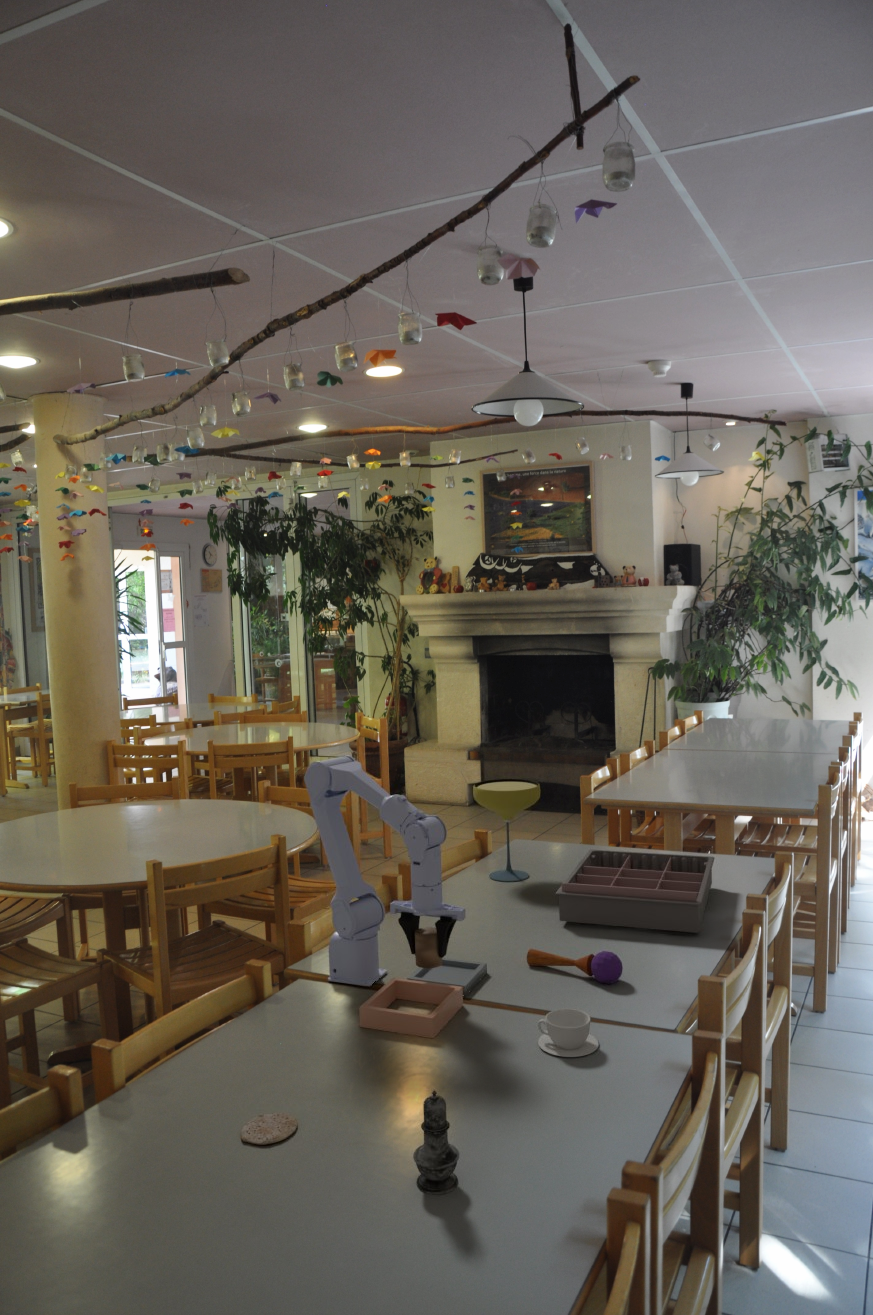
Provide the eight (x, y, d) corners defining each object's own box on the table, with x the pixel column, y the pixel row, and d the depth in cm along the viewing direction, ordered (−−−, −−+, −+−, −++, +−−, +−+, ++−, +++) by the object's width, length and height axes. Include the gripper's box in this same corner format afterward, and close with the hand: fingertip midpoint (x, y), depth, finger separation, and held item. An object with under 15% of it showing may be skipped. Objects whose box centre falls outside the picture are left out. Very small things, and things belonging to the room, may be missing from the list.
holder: (359, 1027, 166) (359, 1007, 166) (393, 996, 179) (393, 977, 178) (433, 1038, 160) (432, 1018, 160) (462, 1005, 173) (462, 987, 173)
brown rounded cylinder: (411, 966, 175) (410, 934, 175) (422, 957, 180) (421, 926, 180) (436, 969, 173) (435, 937, 173) (446, 960, 178) (445, 928, 178)
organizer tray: (715, 887, 240) (714, 849, 240) (702, 941, 203) (701, 895, 203) (590, 879, 252) (589, 842, 251) (555, 928, 214) (554, 884, 214)
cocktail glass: (461, 877, 256) (459, 785, 255) (507, 863, 269) (504, 776, 267) (511, 890, 243) (508, 794, 242) (556, 875, 255) (554, 783, 254)
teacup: (603, 1036, 160) (602, 1009, 160) (593, 1063, 150) (592, 1034, 150) (545, 1029, 163) (544, 1002, 163) (531, 1055, 154) (530, 1027, 153)
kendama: (538, 940, 195) (627, 951, 183) (538, 970, 194) (627, 983, 182) (523, 943, 191) (613, 955, 179) (523, 974, 190) (613, 988, 178)
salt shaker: (412, 1170, 123) (409, 1080, 122) (457, 1167, 123) (454, 1077, 123) (415, 1198, 117) (412, 1104, 116) (462, 1194, 117) (459, 1100, 117)
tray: (407, 988, 182) (407, 978, 182) (431, 966, 193) (431, 956, 193) (465, 996, 177) (465, 986, 177) (486, 973, 188) (486, 963, 188)
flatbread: (272, 1111, 139) (272, 1105, 139) (308, 1128, 134) (308, 1121, 134) (228, 1137, 133) (228, 1130, 132) (264, 1155, 128) (263, 1148, 128)
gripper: (382, 885, 175) (384, 957, 176) (454, 892, 169) (456, 966, 170) (398, 874, 182) (400, 944, 182) (468, 881, 176) (470, 953, 177)
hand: (428, 954), depth 177 cm, fingers closed on brown rounded cylinder, 5 cm apart
